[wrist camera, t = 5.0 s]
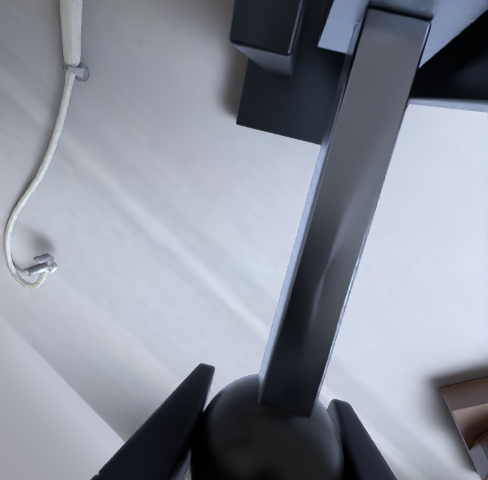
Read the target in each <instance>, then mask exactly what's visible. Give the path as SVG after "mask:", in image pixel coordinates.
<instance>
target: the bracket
mask: <svg viewBox="0 0 488 480" xmlns="http://www.w3.org/2000/svg"><path fill="white" fill-rule="evenodd" d="M327 4H328V0H235V2H234V8H233V14H232V20H231V27H230V33H229V42H230V43H231V44H232V45H233V46H235V47H236V48H237V49H238V50H240V51H241V52H242V53H244V54H245V55H246V56H248V62H247V68H246V73H245V78H244V84H243V89H242V94H241V99H240V105H239V110H238V115H237V121H236V124H237V125H240V126H244V127H248V128H253V129H257V130H261V131H265V132H269V133H273V134H278V135H282V136H286V137H290V138H294V139H298V140H302V141H307V142H311V143H315V144H319V145H321V144H322V140H323V137H324V133H325V129H326V126H327V122H328V118H329V115H330V111H331V107H332V104H333V100H334V96H335V93H336V89H337V85H338V82H339V78H340V74H341V71H342V67H343V63H344V60H345V56H346V53H343V52H338V51H334V50H330V49H326V48H321V47H318V46H317V43H318V39H319V35H320V31H321V27H322V23H323V19H324V16H325V12H326V8H327ZM409 104H416V105H425V106H434V107H443V108H453V109H462V110H471V111H480V112H488V11H487V12H485V13H484V14H483V15H482V16H481V17H480V18H478V19H477V20H476V21H475V22H474V23H472V24H471V25H470V26H469V27H468V28H467V29H465V30H464V31H463V32H462V33H461V34H459V35H458V36H457V37H456V38H455V39H454V40H452V41H451V42H450V43H449V44H448V45H446V46H445V47H444V48H443V49H442V50H441V51H439V52H438V53H437V54H436V55H435V56H433V57H432V58H431V59H430V60H429V61H428V62H426V63H425V64H424V65H423V66H422V67H420V68H419V69H418V72H417V76H416V79H415V82H414V85H413V89H412V92H411V95H410V99H409V102H408V105H409ZM408 105H407V107H408ZM406 109H407V108H406Z"/></svg>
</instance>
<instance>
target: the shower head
mask: <svg viewBox="0 0 488 480" xmlns="http://www.w3.org/2000/svg"><path fill="white" fill-rule="evenodd" d="M59 3H60V15H61V30H62V44H63V55H64V62H65V63H64V68H63V69H64V70H66V77H65V85H64V91H63V95H62V100H61V105H60V110H59V114H58V117H57V121H56V125H55V129H54V132H53V135H52V138H51V141H50V144H49V147H48V150H47V153H46V155H45V158H44V160H43V163H42V165H41V167H40V169H39V171H38V173H37V175H36V177H35V179H34V180H33V182H32V183H31V185H30V186H29V188H28V189H27V191H26V192H25V193H24V195H23V196H22V198H21V199H20V201H19V202H18V204H17V206H16V207H15V209H14V211H13V212H12V215H11V217H10V219H9V221H8V224H7V227H6V231H5V239H4V246H5V257H6V262H7V266H8V268H9V270H10V272H11V274H12V276H13V277H14V278H15V280H16V281H17V282H18V283H20V284H21V285H22V286H24V287H27V288H30V289H31V288H38V287H39V286H40V285H42V284H43V282H44V280H45V279H46V277H47V275H48V274H49V272H51V273H52V272H55V271H56V270H57V265H56V263H55V262H53V259H54V257H53V256H51V255H49V254H48V253H47V254H44V255H41V256H37V257H34V260H35V261H37V262H38V263H39V264H37V265H34V266H32V267H29V268H27V269H24V272H25V273H26V274H28V275H29V276H33V275H36V274H38V273H40V276H39V278H38V280H37V282H35V283H29V282H27V281H25V280H24V279H22V278H21V277H20V275H19V274H18V273H17V272H16V269H15V267H14V265H13V263H12V257H11V243H10V242H11V234H12V230H13V226H14V223H15V221H16V219H17V216H18V214H19V212H20V211H21V209H22V208H23V206H24V204H25V203H26V201H27V200H28V199H29V197H30V196H31V194H32V193H33V192H34V190H35V189H36V187H37V186H38V184H39V183H40V182H41V180H42V178H43V176H44V174H45V172H46V171H47V169H48V167H49V164H50V162H51V159H52V157H53V154H54V152H55V149H56V146H57V143H58V140H59V137H60V135H61V131H62V128H63V124H64V121H65V117H66V114H67V109H68V105H69V100H70V96H71V91H72V87H73V83H74V80H75V79H76V80H79V81H84V82H86V80H87V78H88V76H89V74H88V68H87V67H86V66H85V65H83V64H82V63H80V55H81V20H82V5H83V0H59Z"/></svg>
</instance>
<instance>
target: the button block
mask: <svg viewBox="0 0 488 480" xmlns="http://www.w3.org/2000/svg"><path fill="white" fill-rule="evenodd" d="M440 391H441V393H442V395H443V398H444V400H445V402H446V404H447V406H448V409H449V411H450V413H451V415H452V417H453V420H454V422H455V424H456V426H457V428H458V431H459V433H460V435H461V437H462V439H463V442H464V444H465V446H466V448H467V450H468V453H469V455H470V457H471V459H472V461H473V464H474V466H475V468H476V470H477V472H478V475H479V477H480V479H481V480H488V377H485V378H481V379H476V380H472V381H468V382H464V383H459V384H455V385H451V386H447V387H442V388H440Z"/></svg>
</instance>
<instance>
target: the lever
mask: <svg viewBox="0 0 488 480" xmlns="http://www.w3.org/2000/svg"><path fill="white" fill-rule="evenodd" d="M487 11H488V0H328V4H327V8H326V12H325V16H324V19H323V23H322V27H321V31H320V35H319V39H318V43H317V46H318V47H321V48H326V49H330V50H334V51H338V52H343V53H346V56H345V60H344V63H343V67H342V71H341V74H340V78H339V82H338V85H337V89H336V93H335V96H334V100H333V104H332V107H331V111H330V115H329V118H328V122H327V126H326V129H325V133H324V137H323V140H322V144H321V148H320V151H319V155H318V159H317V162H316V166H315V170H314V173H313V177H312V181H311V184H310V188H309V192H308V196H307V199H306V203H305V207H304V210H303V214H302V218H301V221H300V225H299V229H298V232H297V236H296V240H295V243H294V247H293V251H292V254H291V258H290V262H289V265H288V269H287V273H286V276H285V280H284V284H283V287H282V291H281V295H280V298H279V302H278V306H277V309H276V313H275V317H274V320H273V324H272V328H271V331H270V335H269V339H268V342H267V346H266V350H265V353H264V357H263V361H262V364H261V368H260V372H259V374H254V375H249V376H246V377H243V378H240V379H238V380H236V381H234V382H232V383H230V384H229V385H227V386H226V387H225V388H223V389H222V390H221V391H220V392H219V393H218V394H217V395H216V396H215V397H214V398H213V399H212V400H211V401H210V403H209V404H208V406H207V407H206V409H205V410H204V412H203V414H202V416H201V419H200V421H199V424H198V427H197V429H196V432H195V435H194V438H193V441H192V447H191V455H190V473H191V480H345V461H344V453H343V448H342V444H341V440H340V437H339V434H338V431H337V429H336V426H335V424H334V422H333V420H332V418H331V416H330V415H329V413H328V411H327V410H326V409H325V407H324V406H323V404H322V403H321V402H320V401H319V400H318V397H319V393H320V390H321V387H322V384H323V380H324V377H325V374H326V370H327V367H328V364H329V361H330V357H331V354H332V351H333V348H334V344H335V341H336V338H337V334H338V331H339V328H340V325H341V321H342V318H343V315H344V312H345V308H346V305H347V302H348V298H349V295H350V292H351V289H352V285H353V282H354V279H355V275H356V272H357V269H358V266H359V262H360V259H361V256H362V253H363V249H364V246H365V243H366V239H367V236H368V233H369V230H370V226H371V223H372V220H373V216H374V213H375V210H376V207H377V203H378V200H379V197H380V194H381V190H382V187H383V184H384V180H385V177H386V174H387V171H388V167H389V164H390V161H391V158H392V154H393V151H394V148H395V144H396V141H397V138H398V135H399V131H400V128H401V125H402V121H403V118H404V115H405V112H406V108H407V105H408V102H409V99H410V95H411V92H412V89H413V85H414V82H415V79H416V76H417V72H418V69H419V68H420V67H422V66H423V65H424V64H425V63H426V62H428V61H429V60H430V59H431V58H432V57H433V56H435V55H436V54H437V53H438V52H439V51H441V50H442V49H443V48H444V47H445V46H446V45H448V44H449V43H450V42H451V41H452V40H454V39H455V38H456V37H457V36H458V35H459V34H461V33H462V32H463V31H464V30H465V29H467V28H468V27H469V26H470V25H471V24H472V23H474V22H475V21H476V20H477V19H478V18H480V17H481V16H482V15H483V14H484V13H485V12H487Z"/></svg>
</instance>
